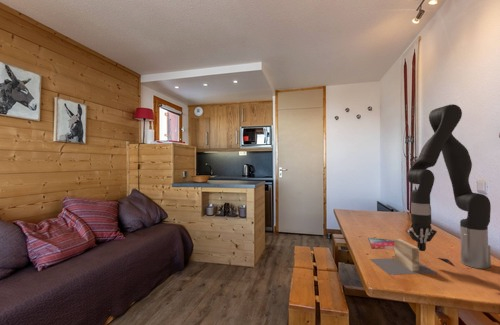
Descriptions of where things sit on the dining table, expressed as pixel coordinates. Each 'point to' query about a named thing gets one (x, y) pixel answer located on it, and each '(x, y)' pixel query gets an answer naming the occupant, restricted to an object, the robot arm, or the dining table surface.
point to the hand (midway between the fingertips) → (421, 250)
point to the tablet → (381, 243)
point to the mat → (399, 267)
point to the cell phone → (446, 261)
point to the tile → (407, 255)
